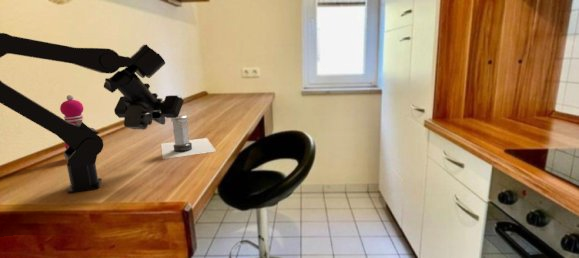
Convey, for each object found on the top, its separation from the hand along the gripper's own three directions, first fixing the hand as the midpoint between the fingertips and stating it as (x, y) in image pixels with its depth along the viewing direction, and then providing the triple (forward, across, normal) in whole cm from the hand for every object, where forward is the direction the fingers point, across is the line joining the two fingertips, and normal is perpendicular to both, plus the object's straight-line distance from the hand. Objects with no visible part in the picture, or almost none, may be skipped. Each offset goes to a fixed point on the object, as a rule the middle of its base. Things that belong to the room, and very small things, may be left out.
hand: (163, 123), depth 98 cm
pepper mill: (+7, -30, -9) cm, 32 cm away
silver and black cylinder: (+14, 0, -1) cm, 14 cm away
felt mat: (+16, 0, 0) cm, 16 cm away
